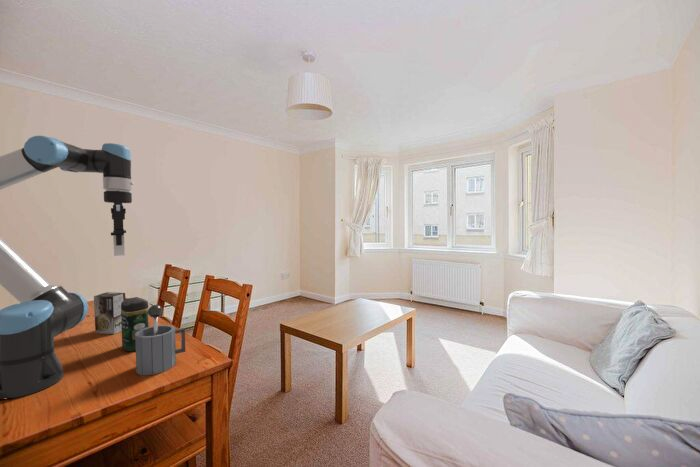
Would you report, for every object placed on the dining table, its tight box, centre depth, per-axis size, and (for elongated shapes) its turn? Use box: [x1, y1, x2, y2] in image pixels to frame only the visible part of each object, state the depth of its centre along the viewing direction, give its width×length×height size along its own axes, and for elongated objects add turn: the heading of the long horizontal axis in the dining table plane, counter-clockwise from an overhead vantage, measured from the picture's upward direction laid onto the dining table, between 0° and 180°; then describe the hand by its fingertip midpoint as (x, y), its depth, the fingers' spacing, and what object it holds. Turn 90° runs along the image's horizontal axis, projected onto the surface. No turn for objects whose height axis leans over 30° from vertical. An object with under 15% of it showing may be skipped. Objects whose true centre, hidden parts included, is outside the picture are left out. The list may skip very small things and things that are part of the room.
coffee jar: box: [121, 296, 150, 352], centre depth 112 cm, size 10×8×19 cm
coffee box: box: [93, 291, 126, 335], centre depth 128 cm, size 9×6×16 cm
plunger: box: [148, 304, 163, 336], centre depth 98 cm, size 8×8×17 cm
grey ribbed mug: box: [135, 324, 186, 376], centre depth 99 cm, size 14×11×12 cm
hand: (119, 253), depth 102 cm, fingers open, 13 cm apart
